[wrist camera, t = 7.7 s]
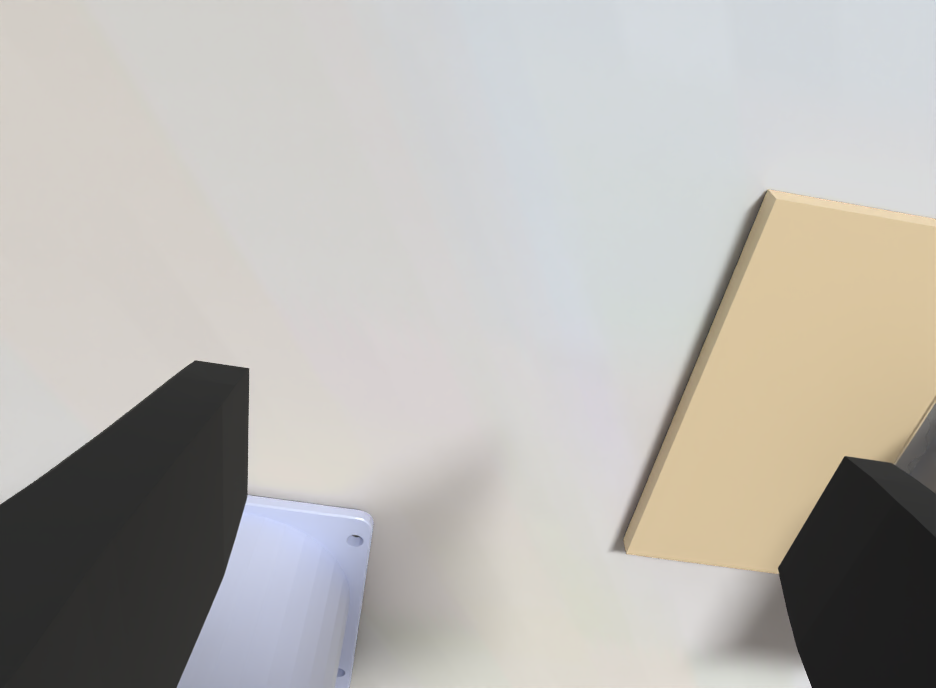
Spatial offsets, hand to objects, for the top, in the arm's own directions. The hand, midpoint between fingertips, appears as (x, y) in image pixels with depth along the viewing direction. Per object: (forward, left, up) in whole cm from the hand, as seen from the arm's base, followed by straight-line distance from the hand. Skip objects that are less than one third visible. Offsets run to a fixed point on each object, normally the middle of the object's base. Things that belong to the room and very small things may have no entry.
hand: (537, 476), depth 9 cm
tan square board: (-5, -13, -10) cm, 17 cm away
